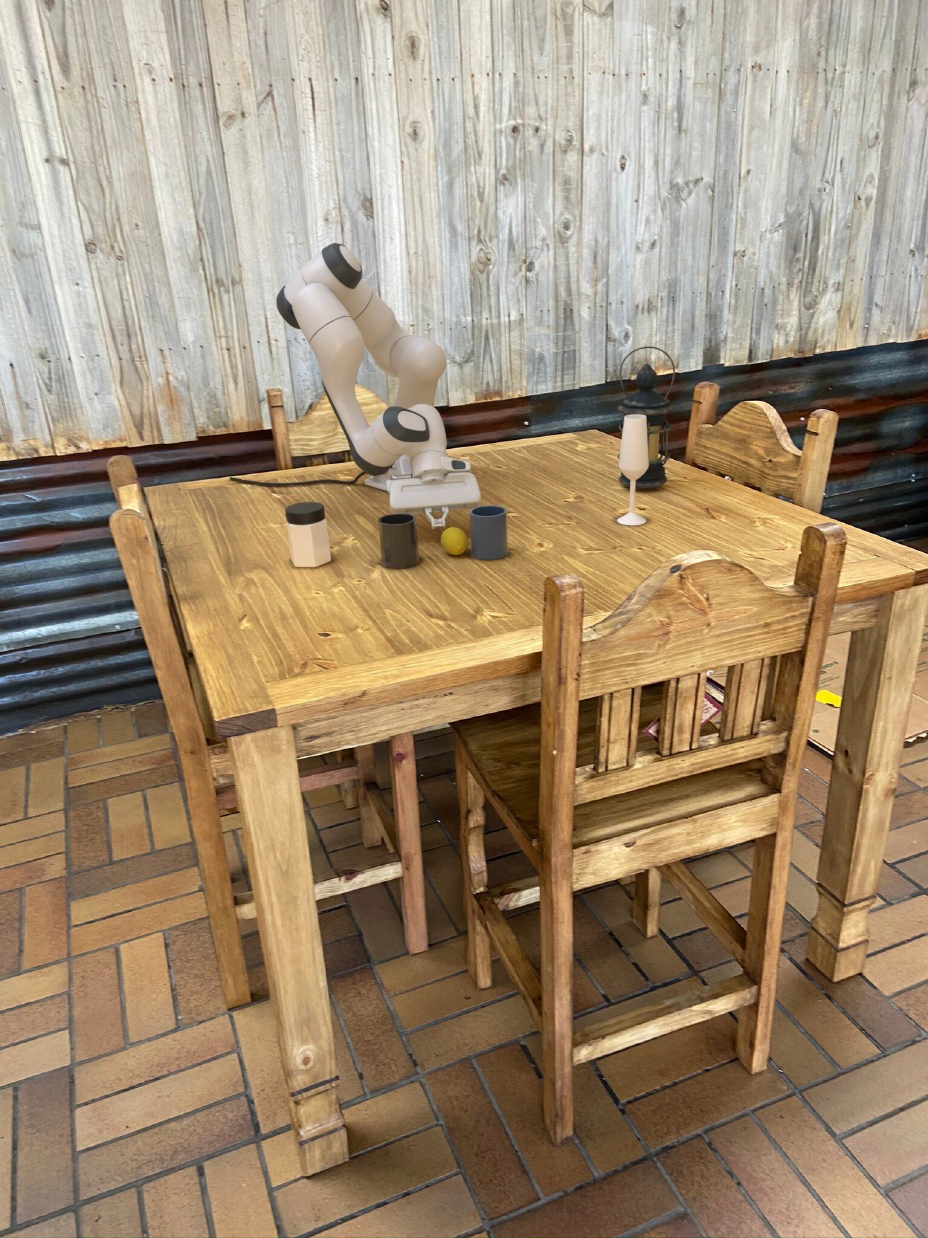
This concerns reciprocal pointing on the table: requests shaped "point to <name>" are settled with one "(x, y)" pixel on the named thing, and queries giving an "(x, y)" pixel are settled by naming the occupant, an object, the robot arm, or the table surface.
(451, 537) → the lemon
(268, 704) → the table surface
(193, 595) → the table surface
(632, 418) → the champagne flute
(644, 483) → the lantern
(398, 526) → the charcoal cup
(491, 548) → the slate cup
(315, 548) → the jar
